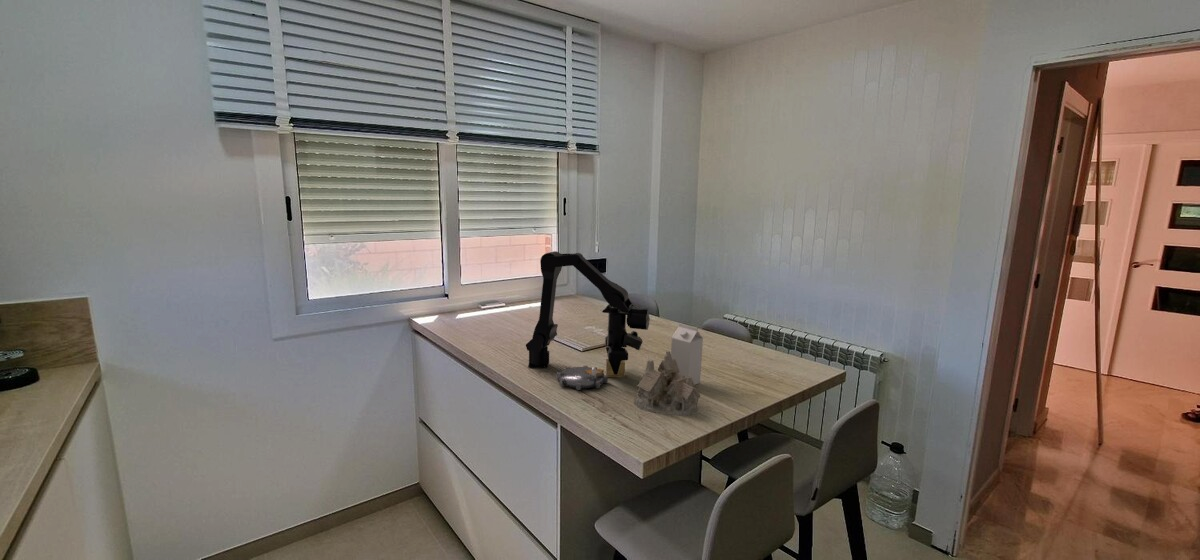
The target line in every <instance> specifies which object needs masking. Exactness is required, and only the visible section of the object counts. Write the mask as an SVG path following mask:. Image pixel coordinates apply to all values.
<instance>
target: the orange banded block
mask: <svg viewBox="0 0 1200 560" xmlns="http://www.w3.org/2000/svg"><path fill="white" fill-rule="evenodd" d="M625 361H626V360H622V361H621V363H620V367H619V370H618V373H617V374H614V373H613V370H612V367H611V365H610V362H609V360H608V358H605V375H608V378H625V376H626V375H625V374H626V371H625V370H626V362H625Z"/></svg>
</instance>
